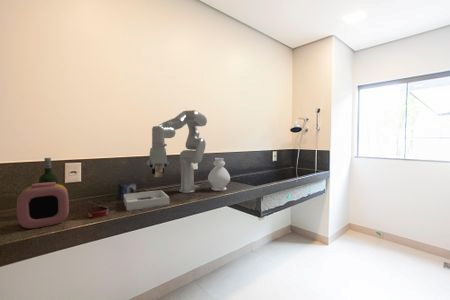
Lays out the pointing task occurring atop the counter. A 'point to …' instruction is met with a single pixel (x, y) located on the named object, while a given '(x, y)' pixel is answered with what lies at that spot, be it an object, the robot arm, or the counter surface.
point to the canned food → (97, 211)
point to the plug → (158, 171)
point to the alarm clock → (42, 205)
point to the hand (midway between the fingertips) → (158, 174)
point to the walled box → (145, 200)
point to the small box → (126, 189)
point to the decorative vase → (219, 175)
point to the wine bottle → (48, 173)
